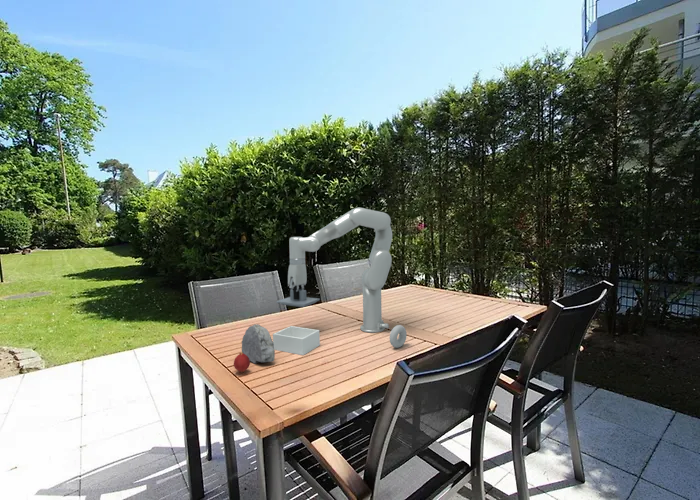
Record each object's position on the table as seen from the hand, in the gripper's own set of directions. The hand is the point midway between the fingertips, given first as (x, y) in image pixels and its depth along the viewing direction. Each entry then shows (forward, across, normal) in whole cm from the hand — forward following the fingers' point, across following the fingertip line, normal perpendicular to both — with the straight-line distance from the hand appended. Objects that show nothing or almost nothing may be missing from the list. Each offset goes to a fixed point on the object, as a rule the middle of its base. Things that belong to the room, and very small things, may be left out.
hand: (298, 298), depth 172 cm
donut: (+18, -3, +51) cm, 54 cm away
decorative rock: (+19, +35, +5) cm, 40 cm away
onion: (+19, +46, +7) cm, 50 cm away
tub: (+18, +16, +10) cm, 26 cm away
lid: (+3, 0, 0) cm, 3 cm away
